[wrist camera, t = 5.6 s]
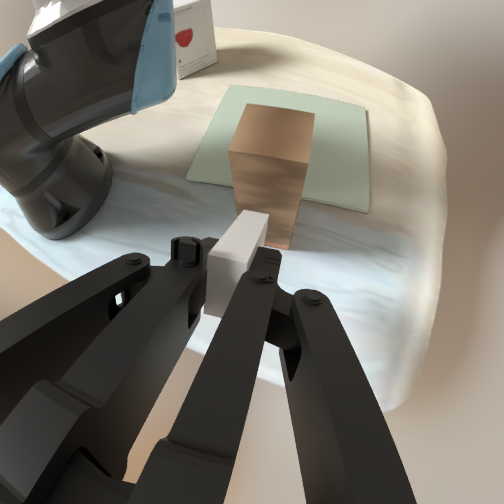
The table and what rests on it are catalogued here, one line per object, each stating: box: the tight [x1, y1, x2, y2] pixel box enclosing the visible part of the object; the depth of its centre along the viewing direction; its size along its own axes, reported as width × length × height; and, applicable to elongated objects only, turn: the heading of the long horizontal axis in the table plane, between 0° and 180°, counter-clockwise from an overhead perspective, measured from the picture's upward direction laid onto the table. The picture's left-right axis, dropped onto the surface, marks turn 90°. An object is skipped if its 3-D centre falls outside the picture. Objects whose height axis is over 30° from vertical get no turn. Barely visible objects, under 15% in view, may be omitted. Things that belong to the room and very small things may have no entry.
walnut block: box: [228, 103, 315, 250], centre depth 23 cm, size 5×5×14 cm
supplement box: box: [173, 0, 218, 80], centre depth 37 cm, size 9×9×15 cm
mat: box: [186, 85, 369, 214], centre depth 35 cm, size 22×20×1 cm
